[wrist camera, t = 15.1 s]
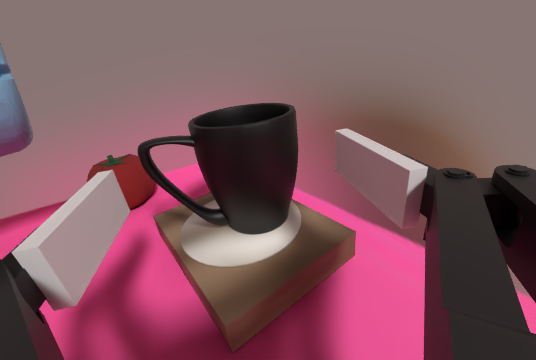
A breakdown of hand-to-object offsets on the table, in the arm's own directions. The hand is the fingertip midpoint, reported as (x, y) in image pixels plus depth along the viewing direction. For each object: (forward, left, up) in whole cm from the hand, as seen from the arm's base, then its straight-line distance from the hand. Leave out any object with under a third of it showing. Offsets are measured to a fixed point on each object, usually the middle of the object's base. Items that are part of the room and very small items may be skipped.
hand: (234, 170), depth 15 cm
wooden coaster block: (-3, +5, -10) cm, 12 cm away
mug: (-3, +4, -7) cm, 9 cm away
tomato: (-23, +10, -10) cm, 27 cm away
